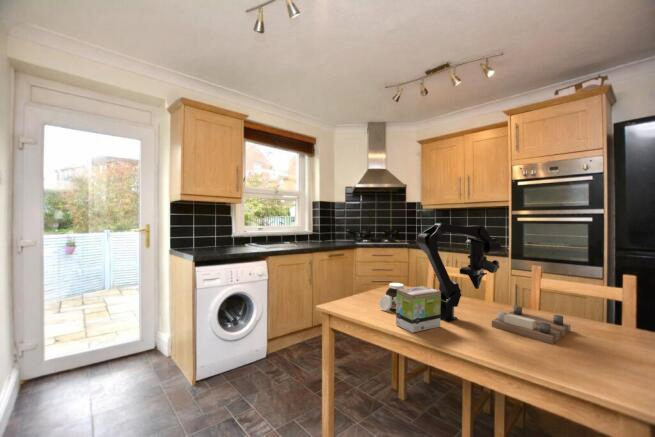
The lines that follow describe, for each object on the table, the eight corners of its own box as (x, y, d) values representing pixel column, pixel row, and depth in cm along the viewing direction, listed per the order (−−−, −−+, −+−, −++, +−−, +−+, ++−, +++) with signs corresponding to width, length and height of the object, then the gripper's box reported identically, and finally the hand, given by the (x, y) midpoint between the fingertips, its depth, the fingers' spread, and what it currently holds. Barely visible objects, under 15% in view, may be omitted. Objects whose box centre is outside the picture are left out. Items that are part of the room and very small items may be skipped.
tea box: (413, 334, 109) (413, 294, 109) (395, 325, 118) (395, 289, 118) (441, 326, 116) (441, 290, 116) (422, 319, 125) (422, 284, 125)
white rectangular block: (496, 320, 116) (496, 312, 116) (500, 318, 118) (500, 311, 118) (531, 330, 106) (531, 321, 106) (535, 327, 108) (535, 319, 108)
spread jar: (409, 308, 140) (409, 284, 139) (401, 315, 130) (401, 289, 130) (385, 304, 146) (385, 281, 146) (376, 310, 136) (376, 285, 136)
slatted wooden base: (552, 344, 100) (552, 328, 100) (491, 326, 116) (491, 312, 116) (570, 330, 112) (570, 316, 112) (513, 316, 128) (513, 303, 128)
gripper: (485, 257, 117) (485, 296, 117) (505, 253, 128) (505, 289, 128) (458, 254, 126) (458, 290, 126) (480, 251, 137) (480, 284, 137)
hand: (476, 288), depth 129 cm, fingers closed
